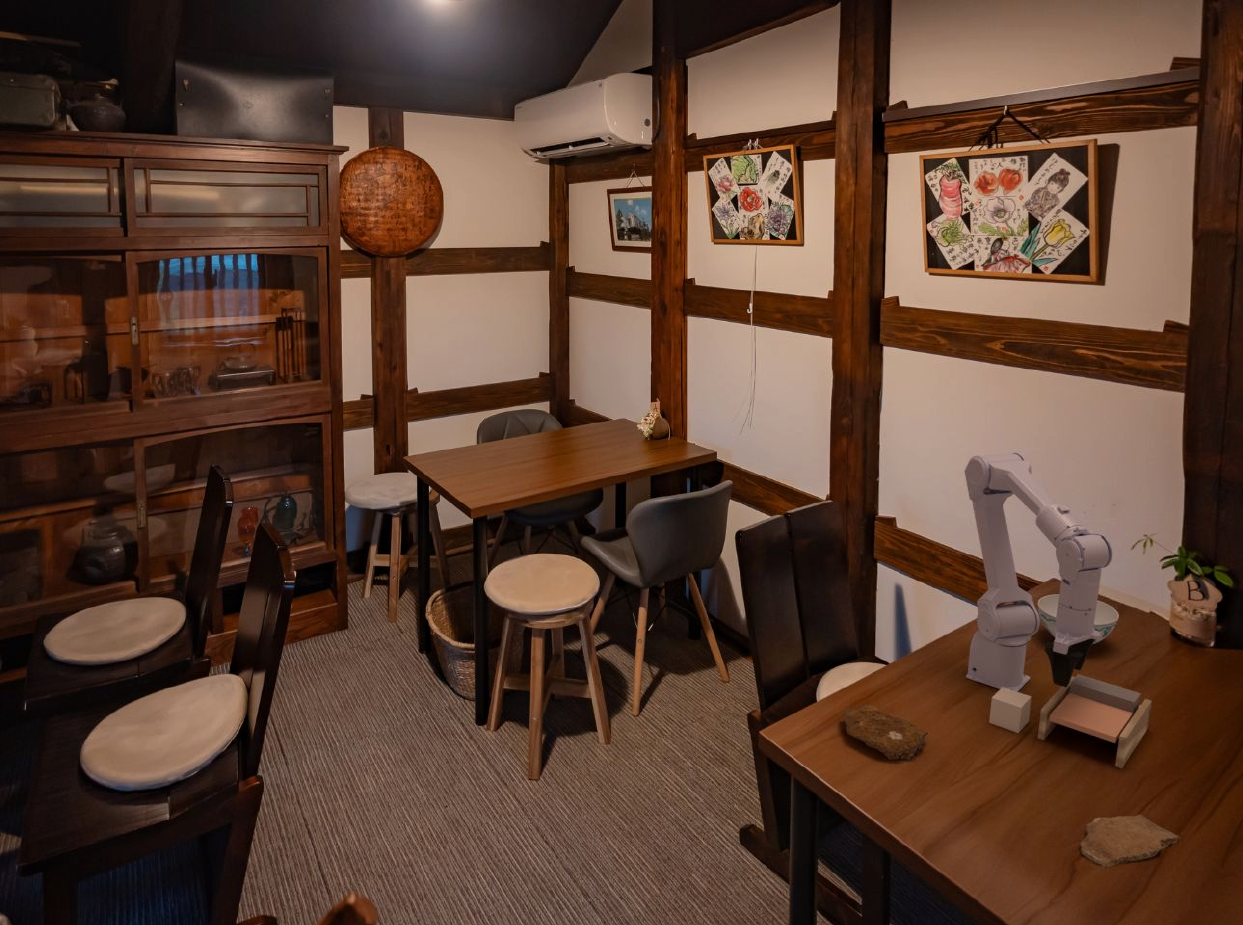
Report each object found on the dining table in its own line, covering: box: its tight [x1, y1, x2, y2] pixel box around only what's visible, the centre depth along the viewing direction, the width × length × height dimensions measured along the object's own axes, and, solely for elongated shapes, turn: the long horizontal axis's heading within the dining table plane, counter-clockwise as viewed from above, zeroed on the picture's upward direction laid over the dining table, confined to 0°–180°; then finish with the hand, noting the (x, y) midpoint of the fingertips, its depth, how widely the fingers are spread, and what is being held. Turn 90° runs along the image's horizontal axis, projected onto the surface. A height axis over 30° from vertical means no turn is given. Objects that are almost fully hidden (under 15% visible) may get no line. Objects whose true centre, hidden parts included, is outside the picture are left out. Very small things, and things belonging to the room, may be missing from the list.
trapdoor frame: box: [1037, 675, 1152, 769], centre depth 149 cm, size 13×16×6 cm
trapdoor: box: [1049, 674, 1142, 744], centre depth 148 cm, size 10×14×3 cm
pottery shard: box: [1079, 814, 1180, 868], centre depth 123 cm, size 8×3×15 cm
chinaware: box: [1037, 593, 1120, 645], centre depth 182 cm, size 15×15×8 cm
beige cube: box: [988, 687, 1032, 734], centre depth 153 cm, size 5×5×5 cm
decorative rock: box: [841, 703, 929, 762], centre depth 149 cm, size 11×4×15 cm
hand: (1067, 676), depth 150 cm, fingers open, 7 cm apart
